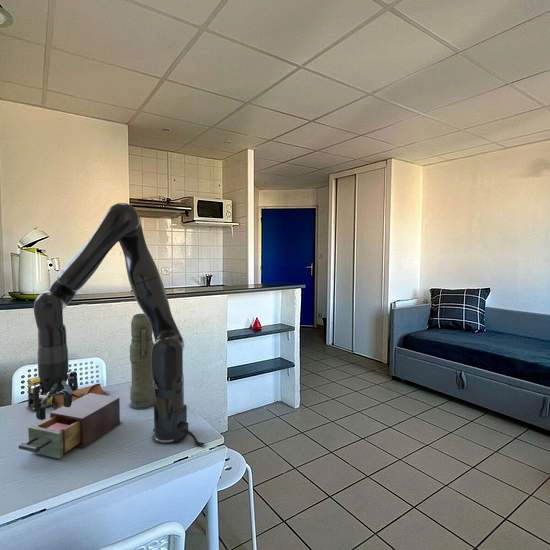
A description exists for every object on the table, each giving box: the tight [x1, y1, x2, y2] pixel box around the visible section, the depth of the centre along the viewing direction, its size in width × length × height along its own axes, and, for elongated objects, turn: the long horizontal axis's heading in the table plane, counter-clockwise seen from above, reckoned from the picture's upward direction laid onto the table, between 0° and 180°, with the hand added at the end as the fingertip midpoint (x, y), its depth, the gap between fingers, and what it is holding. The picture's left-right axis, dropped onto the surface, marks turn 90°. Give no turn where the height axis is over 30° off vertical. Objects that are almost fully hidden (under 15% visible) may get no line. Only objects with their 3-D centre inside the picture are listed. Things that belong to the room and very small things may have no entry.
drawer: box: [18, 416, 81, 459], centre depth 104 cm, size 20×11×7 cm, turn 163°
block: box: [46, 423, 69, 434], centre depth 103 cm, size 5×5×5 cm
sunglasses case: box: [51, 383, 108, 410], centre depth 138 cm, size 18×7×7 cm, turn 137°
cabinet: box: [49, 393, 121, 449], centre depth 114 cm, size 16×13×9 cm
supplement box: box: [27, 376, 53, 412], centre depth 132 cm, size 6×6×11 cm
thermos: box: [129, 313, 155, 410], centre depth 134 cm, size 9×12×35 cm
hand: (55, 412), depth 103 cm, fingers open, 8 cm apart
